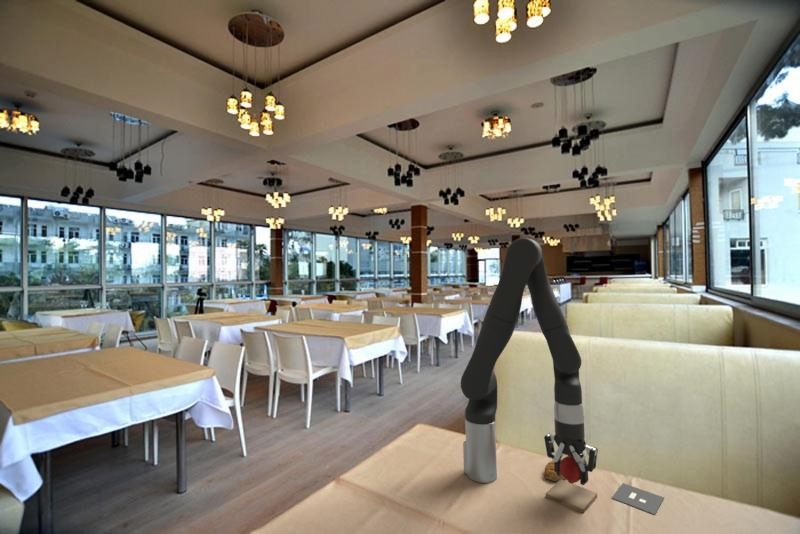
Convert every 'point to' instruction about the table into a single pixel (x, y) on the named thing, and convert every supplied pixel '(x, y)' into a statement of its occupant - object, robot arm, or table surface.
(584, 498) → the beige coaster
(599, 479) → the table surface
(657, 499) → the mat
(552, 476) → the pastry
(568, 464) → the onion
